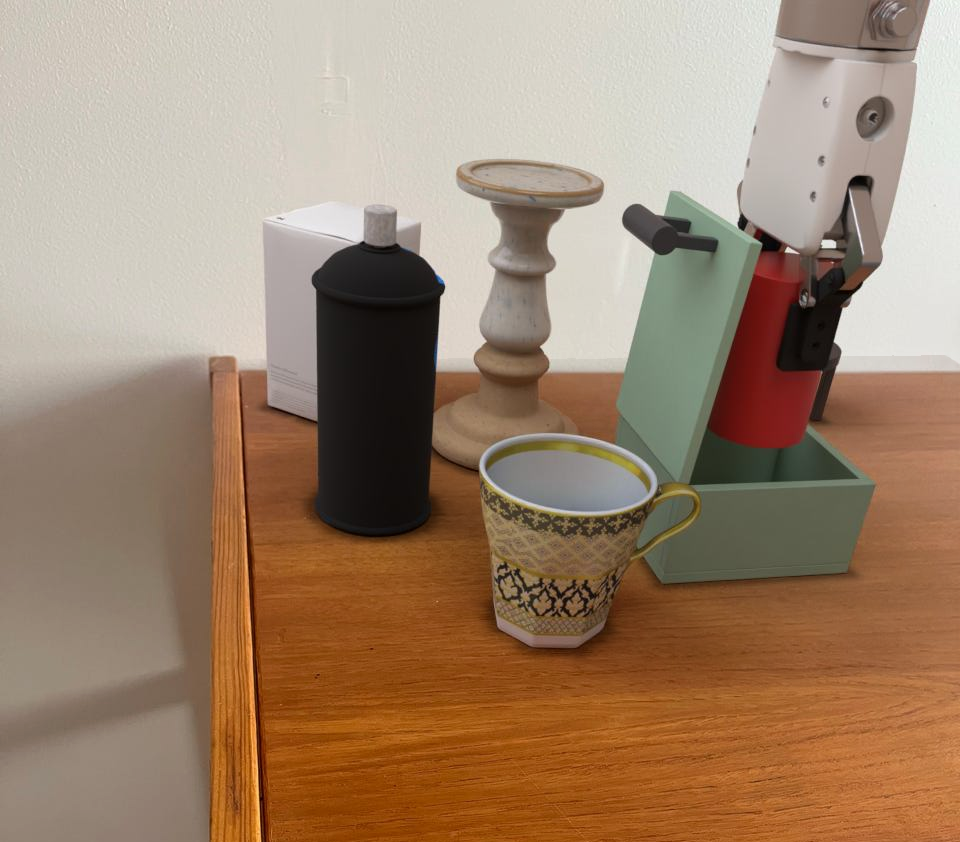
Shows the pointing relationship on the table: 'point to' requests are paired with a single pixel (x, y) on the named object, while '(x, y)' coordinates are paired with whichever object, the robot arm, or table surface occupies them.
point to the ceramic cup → (565, 531)
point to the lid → (683, 325)
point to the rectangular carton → (306, 292)
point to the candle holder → (513, 306)
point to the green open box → (756, 510)
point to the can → (765, 364)
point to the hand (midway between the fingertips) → (773, 344)
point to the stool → (825, 383)
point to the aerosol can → (376, 381)
